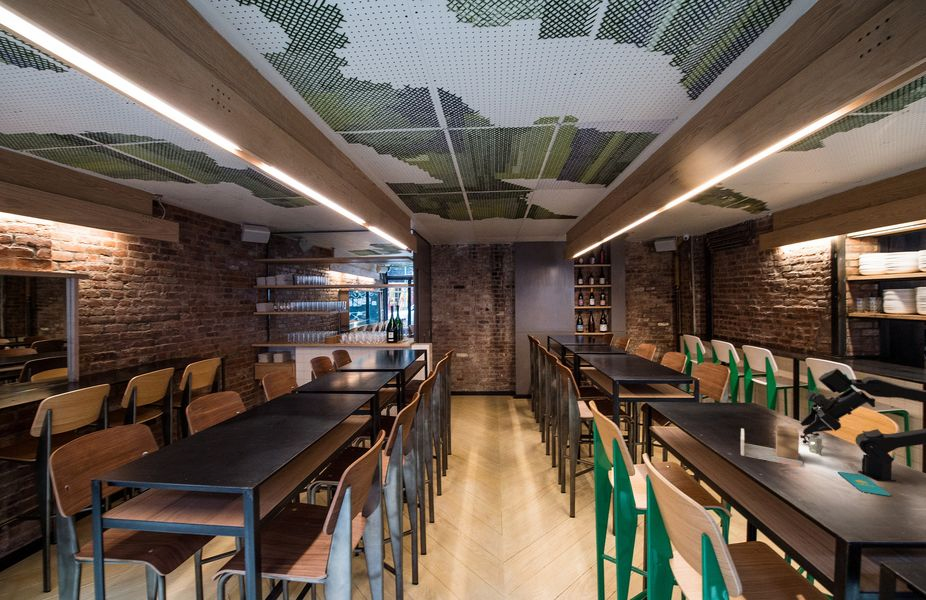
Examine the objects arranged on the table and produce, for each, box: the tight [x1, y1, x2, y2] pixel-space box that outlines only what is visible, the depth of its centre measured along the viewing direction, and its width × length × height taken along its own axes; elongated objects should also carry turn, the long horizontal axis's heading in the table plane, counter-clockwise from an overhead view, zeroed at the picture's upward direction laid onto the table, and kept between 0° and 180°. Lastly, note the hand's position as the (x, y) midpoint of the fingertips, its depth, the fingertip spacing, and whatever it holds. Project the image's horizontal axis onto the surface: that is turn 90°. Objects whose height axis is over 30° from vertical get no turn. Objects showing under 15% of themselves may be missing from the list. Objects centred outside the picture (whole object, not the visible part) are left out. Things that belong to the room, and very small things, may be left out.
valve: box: [799, 430, 824, 456], centre depth 155 cm, size 7×7×12 cm
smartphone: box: [837, 471, 892, 498], centre depth 127 cm, size 7×1×15 cm
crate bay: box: [740, 428, 806, 468], centre depth 149 cm, size 18×15×7 cm
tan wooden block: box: [775, 425, 800, 461], centre depth 146 cm, size 6×6×10 cm
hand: (802, 428), depth 143 cm, fingers open, 9 cm apart
